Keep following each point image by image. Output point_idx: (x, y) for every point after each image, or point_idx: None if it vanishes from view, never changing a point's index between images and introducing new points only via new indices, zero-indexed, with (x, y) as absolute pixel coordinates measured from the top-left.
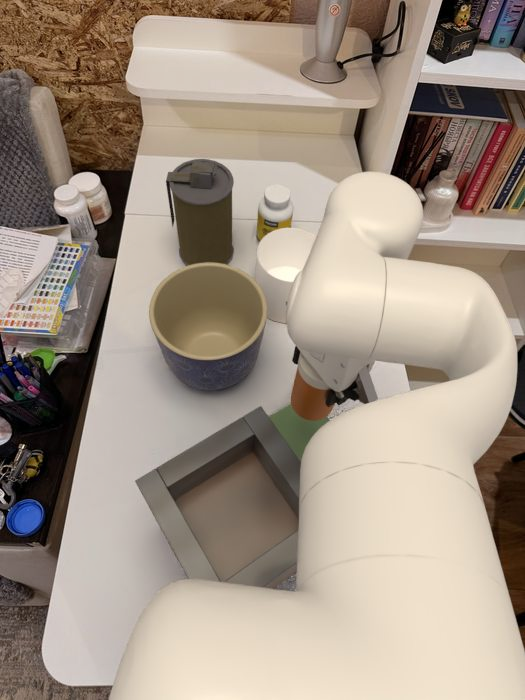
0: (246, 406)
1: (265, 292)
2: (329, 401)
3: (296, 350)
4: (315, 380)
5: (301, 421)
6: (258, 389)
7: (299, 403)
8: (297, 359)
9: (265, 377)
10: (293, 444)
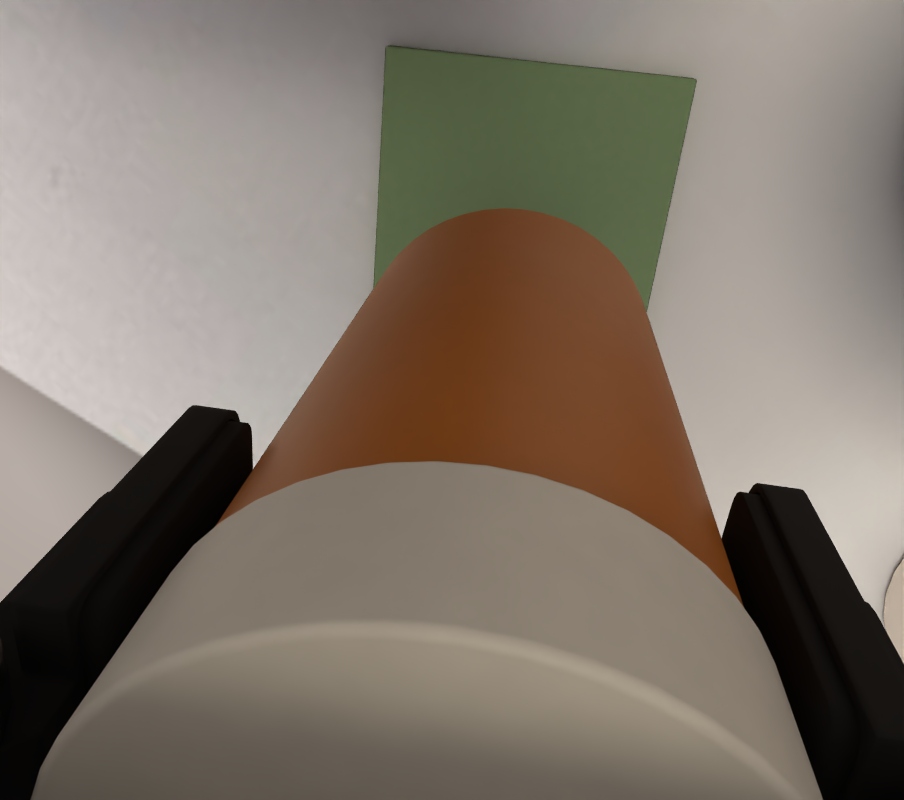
0: (805, 95)
1: None
2: (138, 469)
3: (874, 694)
4: (216, 627)
5: None
6: (821, 204)
7: (489, 254)
8: (768, 560)
9: (837, 272)
10: (501, 147)
